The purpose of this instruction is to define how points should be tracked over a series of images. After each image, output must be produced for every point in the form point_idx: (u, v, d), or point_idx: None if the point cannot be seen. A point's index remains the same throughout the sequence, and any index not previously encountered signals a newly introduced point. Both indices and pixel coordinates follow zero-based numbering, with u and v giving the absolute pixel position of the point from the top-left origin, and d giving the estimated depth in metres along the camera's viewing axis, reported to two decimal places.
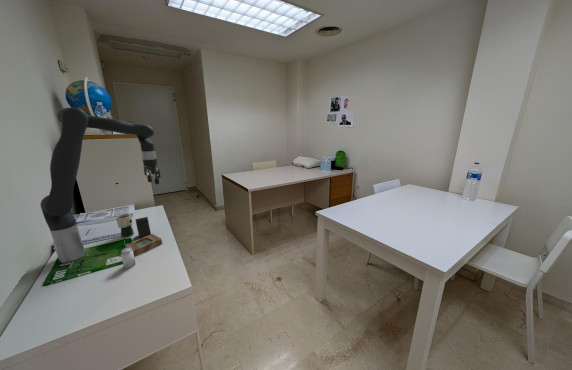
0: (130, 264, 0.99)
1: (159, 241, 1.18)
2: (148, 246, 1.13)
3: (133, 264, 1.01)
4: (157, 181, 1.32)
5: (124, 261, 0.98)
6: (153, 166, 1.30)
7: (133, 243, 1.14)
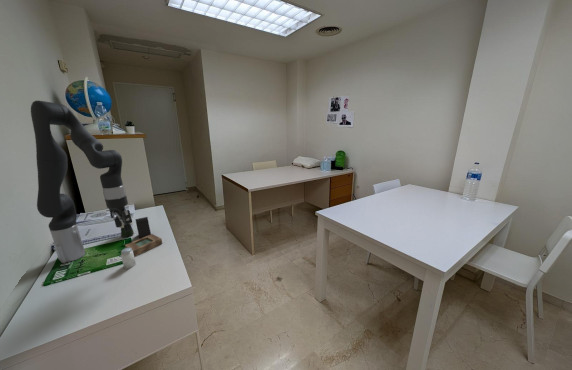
0: (130, 264, 0.99)
1: (159, 241, 1.18)
2: (148, 246, 1.13)
3: (133, 264, 1.01)
4: (128, 227, 0.94)
5: (124, 261, 0.98)
6: (121, 207, 0.92)
7: (133, 243, 1.14)
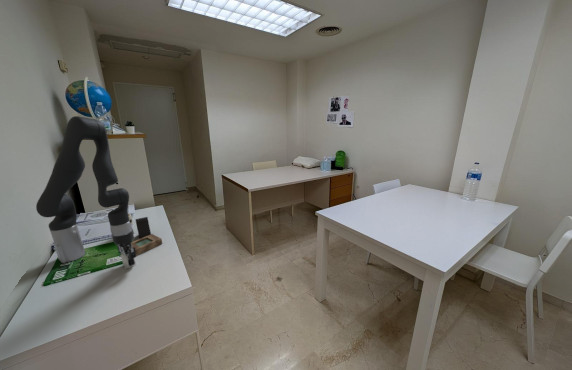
0: None
1: (159, 241, 1.18)
2: (148, 246, 1.13)
3: None
4: (131, 262, 0.99)
5: (124, 261, 0.98)
6: (127, 243, 0.95)
7: (133, 243, 1.14)
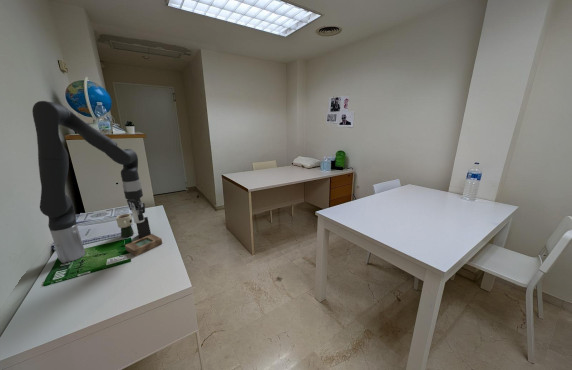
0: None
1: (159, 241, 1.18)
2: (148, 246, 1.13)
3: (142, 220, 1.12)
4: (141, 217, 1.10)
5: (134, 216, 1.09)
6: (137, 199, 1.06)
7: (133, 243, 1.14)
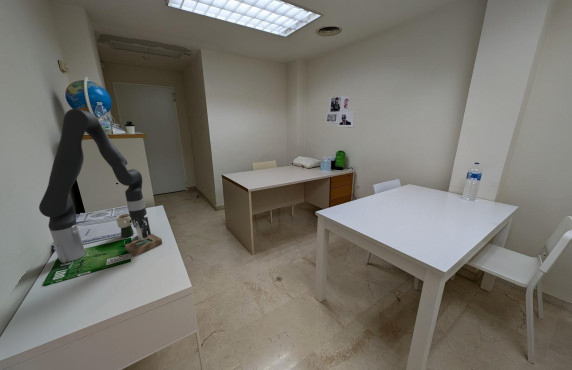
0: None
1: (159, 241, 1.18)
2: (148, 246, 1.13)
3: (146, 237, 1.15)
4: (145, 235, 1.13)
5: (139, 234, 1.12)
6: (141, 217, 1.10)
7: (133, 243, 1.14)
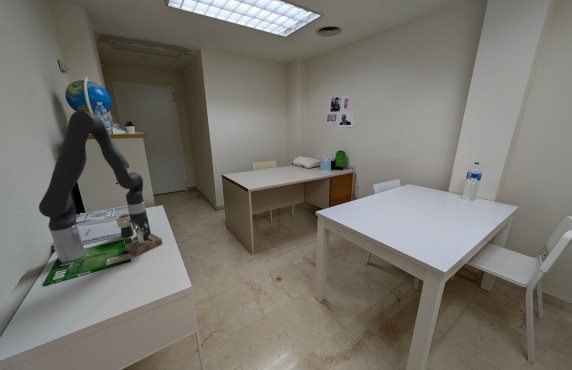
0: (145, 241, 1.14)
1: (159, 241, 1.18)
2: (148, 246, 1.13)
3: (147, 242, 1.15)
4: (146, 237, 1.12)
5: (139, 239, 1.13)
6: (141, 220, 1.10)
7: (133, 243, 1.14)
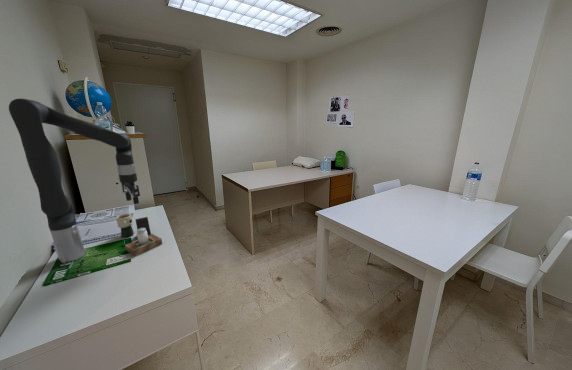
0: (145, 241, 1.14)
1: (159, 241, 1.18)
2: (148, 246, 1.13)
3: (147, 242, 1.15)
4: (136, 200, 1.10)
5: (139, 239, 1.13)
6: (131, 182, 1.08)
7: (133, 243, 1.14)
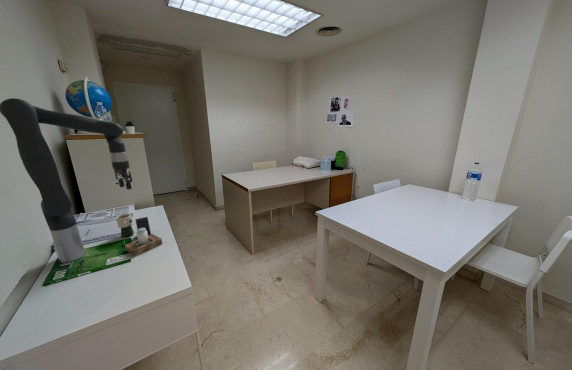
0: (145, 241, 1.14)
1: (159, 241, 1.18)
2: (148, 246, 1.13)
3: (147, 242, 1.15)
4: (129, 186, 1.18)
5: (139, 239, 1.13)
6: (124, 169, 1.16)
7: (133, 243, 1.14)
